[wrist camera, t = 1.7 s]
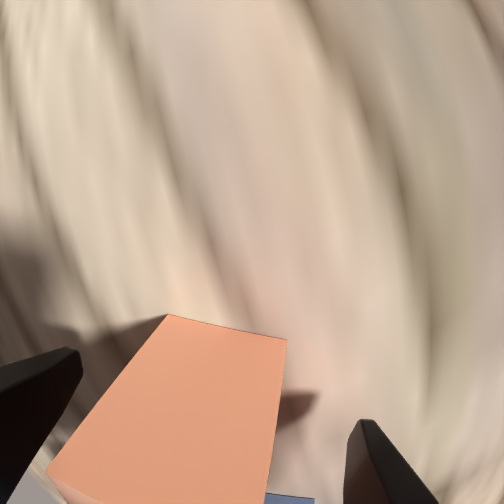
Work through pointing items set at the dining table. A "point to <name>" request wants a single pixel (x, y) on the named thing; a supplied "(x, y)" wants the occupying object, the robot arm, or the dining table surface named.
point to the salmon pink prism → (180, 422)
